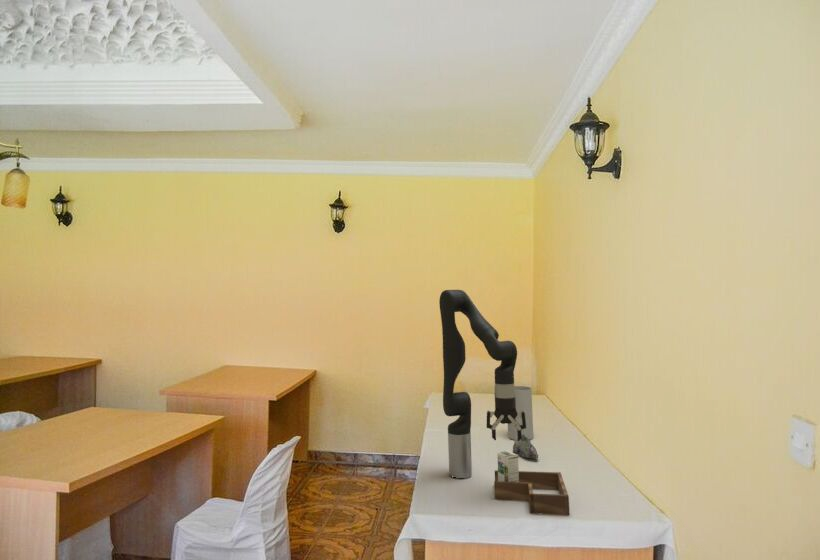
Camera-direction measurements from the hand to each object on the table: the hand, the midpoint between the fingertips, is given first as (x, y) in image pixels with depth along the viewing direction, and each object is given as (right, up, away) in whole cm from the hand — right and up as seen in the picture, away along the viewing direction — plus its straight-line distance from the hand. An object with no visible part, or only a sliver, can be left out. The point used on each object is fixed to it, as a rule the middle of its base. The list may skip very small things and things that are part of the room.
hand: (506, 439), depth 183 cm
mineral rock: (+16, -21, +39) cm, 47 cm away
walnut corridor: (+7, -19, -7) cm, 21 cm away
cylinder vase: (+21, -22, +70) cm, 76 cm away
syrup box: (+1, -20, -1) cm, 20 cm away
